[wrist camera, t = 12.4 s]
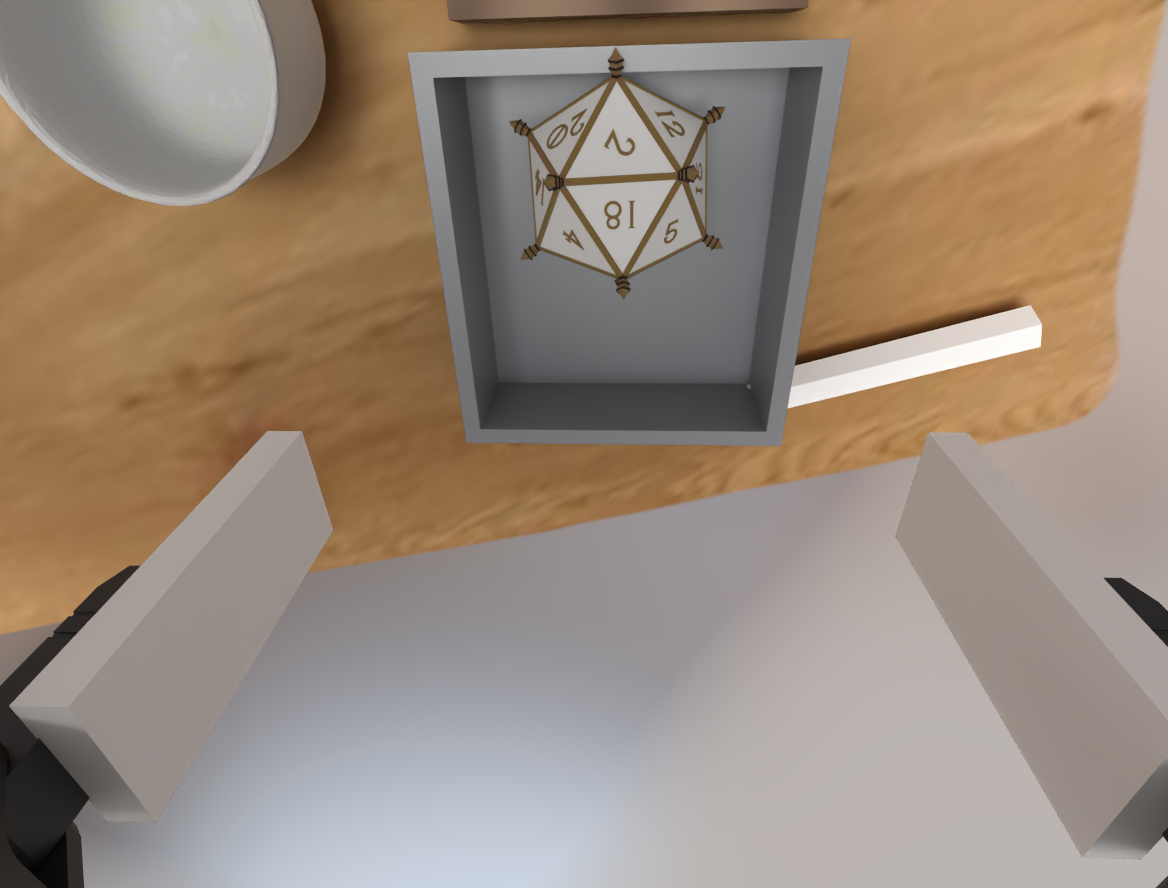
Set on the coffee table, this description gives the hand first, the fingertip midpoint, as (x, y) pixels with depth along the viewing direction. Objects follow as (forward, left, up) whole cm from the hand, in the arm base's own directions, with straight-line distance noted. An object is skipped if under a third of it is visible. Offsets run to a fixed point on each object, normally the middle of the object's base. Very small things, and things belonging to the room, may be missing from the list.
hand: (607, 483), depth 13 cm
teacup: (-19, +9, -21) cm, 30 cm away
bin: (0, 0, -21) cm, 21 cm away
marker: (+13, -6, -21) cm, 26 cm away
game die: (0, +1, -19) cm, 19 cm away
